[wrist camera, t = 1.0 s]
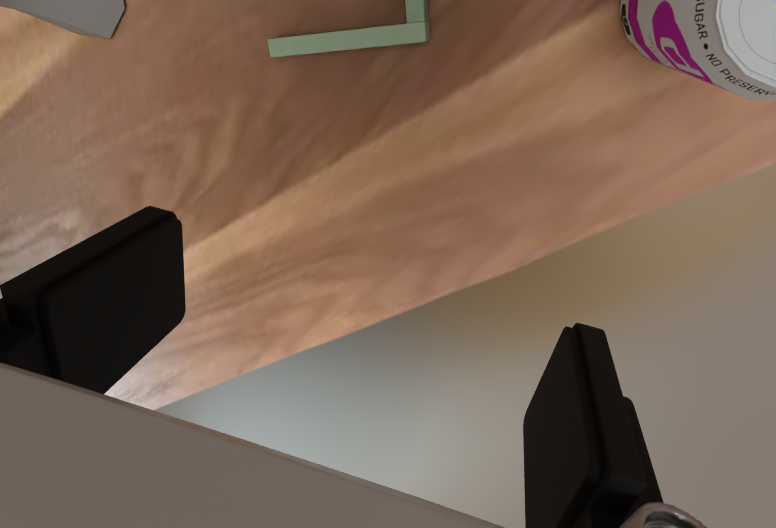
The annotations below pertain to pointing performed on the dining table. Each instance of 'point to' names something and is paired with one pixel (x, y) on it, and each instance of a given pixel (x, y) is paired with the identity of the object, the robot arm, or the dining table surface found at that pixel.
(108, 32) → the flask
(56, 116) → the dining table surface
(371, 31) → the frame
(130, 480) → the robot arm
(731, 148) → the dining table surface
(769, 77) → the supplement can
